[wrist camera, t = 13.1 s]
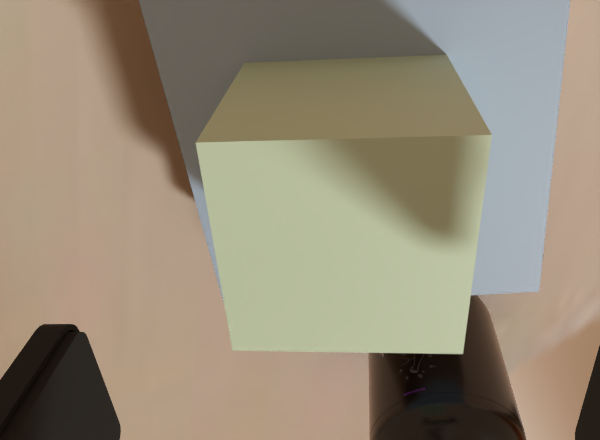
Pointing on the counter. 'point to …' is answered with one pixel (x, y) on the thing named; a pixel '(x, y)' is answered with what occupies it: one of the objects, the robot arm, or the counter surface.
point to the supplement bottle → (445, 390)
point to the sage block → (346, 204)
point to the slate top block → (393, 43)
